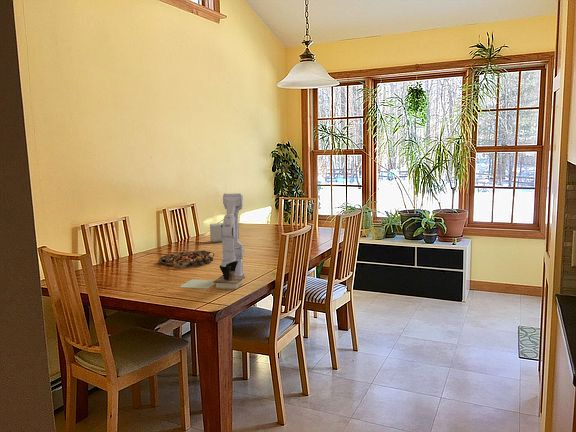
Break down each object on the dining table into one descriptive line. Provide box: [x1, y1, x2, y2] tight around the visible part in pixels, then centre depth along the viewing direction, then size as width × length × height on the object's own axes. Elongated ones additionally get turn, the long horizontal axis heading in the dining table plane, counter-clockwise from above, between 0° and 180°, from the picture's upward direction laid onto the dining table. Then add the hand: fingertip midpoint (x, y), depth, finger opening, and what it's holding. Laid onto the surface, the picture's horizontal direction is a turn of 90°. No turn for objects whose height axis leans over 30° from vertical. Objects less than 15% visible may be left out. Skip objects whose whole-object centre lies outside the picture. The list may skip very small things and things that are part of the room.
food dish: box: [158, 249, 215, 269], centre depth 293 cm, size 35×33×8 cm
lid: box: [213, 271, 246, 284], centre depth 238 cm, size 12×12×4 cm
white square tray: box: [215, 279, 243, 290], centre depth 239 cm, size 10×10×3 cm
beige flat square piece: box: [178, 278, 216, 290], centre depth 243 cm, size 14×15×1 cm
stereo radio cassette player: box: [209, 218, 240, 243], centre depth 359 cm, size 21×8×20 cm, turn 113°
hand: (229, 277), depth 238 cm, fingers open, 7 cm apart
